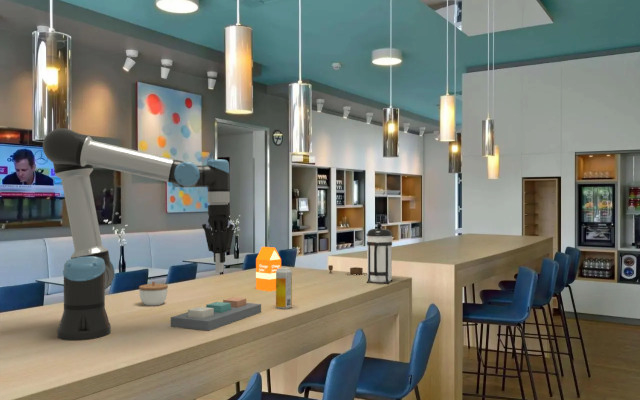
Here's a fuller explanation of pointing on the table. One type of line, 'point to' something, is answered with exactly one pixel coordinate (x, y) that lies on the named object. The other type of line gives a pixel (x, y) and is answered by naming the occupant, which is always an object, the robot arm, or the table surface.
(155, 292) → the lidded jar
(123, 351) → the table surface
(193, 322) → the panel
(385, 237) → the coffee press
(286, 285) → the beer can
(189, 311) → the cream button
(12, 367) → the table surface
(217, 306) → the teal button
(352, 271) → the place setting
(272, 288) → the orange juice
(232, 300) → the terracotta button
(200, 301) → the table surface
